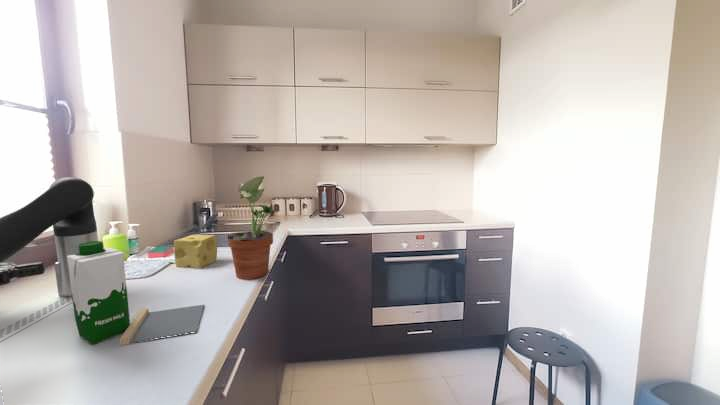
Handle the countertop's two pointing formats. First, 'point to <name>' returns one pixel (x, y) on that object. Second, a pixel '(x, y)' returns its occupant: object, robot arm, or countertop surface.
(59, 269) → the robot arm
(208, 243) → the cheese
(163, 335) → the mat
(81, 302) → the white and green box
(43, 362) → the countertop surface
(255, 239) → the potted plant
